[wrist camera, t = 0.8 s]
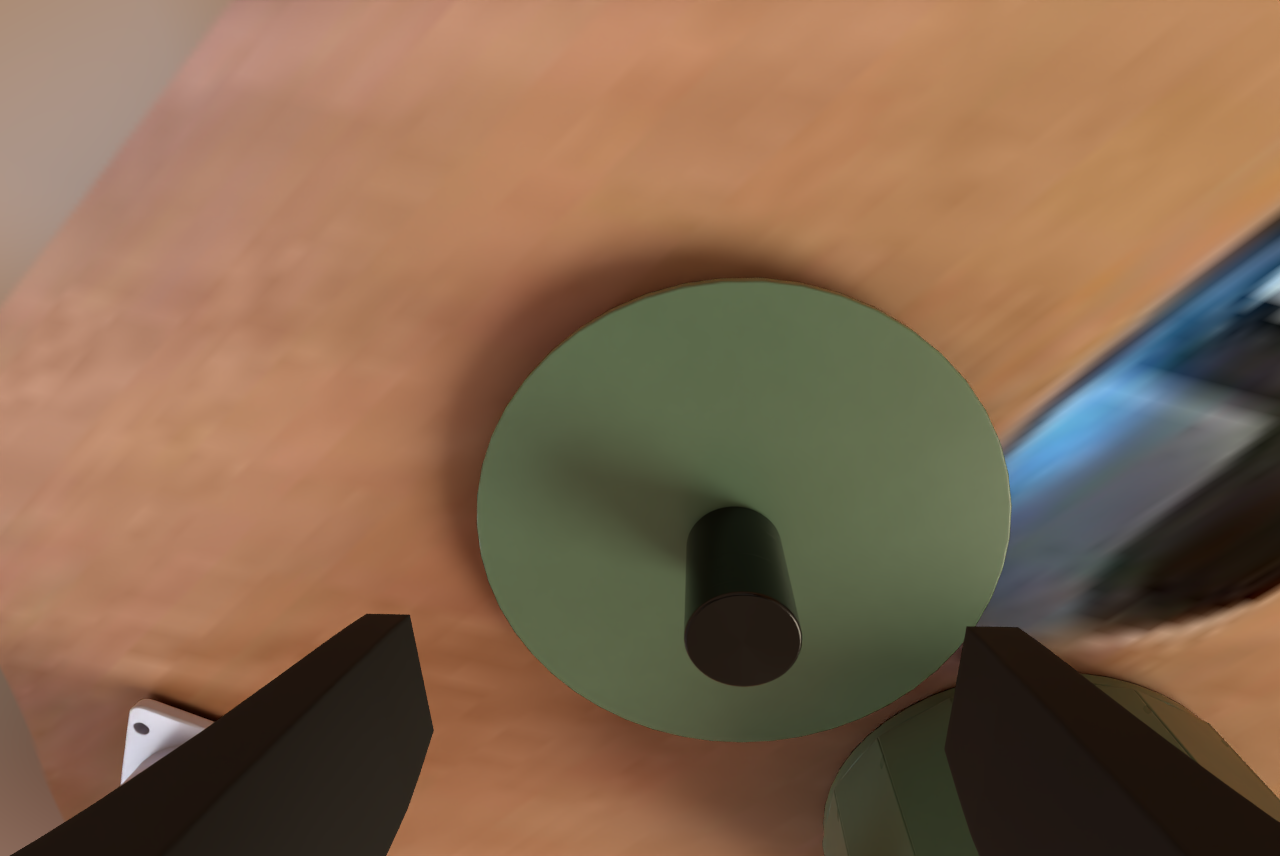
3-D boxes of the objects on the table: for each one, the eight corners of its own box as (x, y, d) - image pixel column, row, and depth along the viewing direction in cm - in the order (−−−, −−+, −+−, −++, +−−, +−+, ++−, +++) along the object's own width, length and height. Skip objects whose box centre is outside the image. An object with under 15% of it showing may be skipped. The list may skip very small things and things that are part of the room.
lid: (931, 733, 20) (999, 895, 15) (498, 692, 20) (444, 834, 16) (1057, 289, 14) (1212, 340, 10) (475, 257, 15) (387, 291, 11)
